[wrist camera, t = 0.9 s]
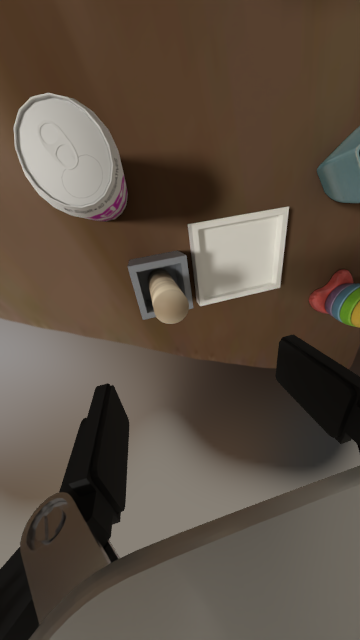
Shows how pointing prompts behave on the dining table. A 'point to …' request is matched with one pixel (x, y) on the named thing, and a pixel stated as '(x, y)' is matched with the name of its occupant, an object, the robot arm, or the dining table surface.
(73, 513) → the robot arm
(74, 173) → the supplement can
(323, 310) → the stacking bear
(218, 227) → the white tray
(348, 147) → the flower pot
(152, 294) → the birch peg
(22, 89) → the dining table surface
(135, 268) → the grey open box
